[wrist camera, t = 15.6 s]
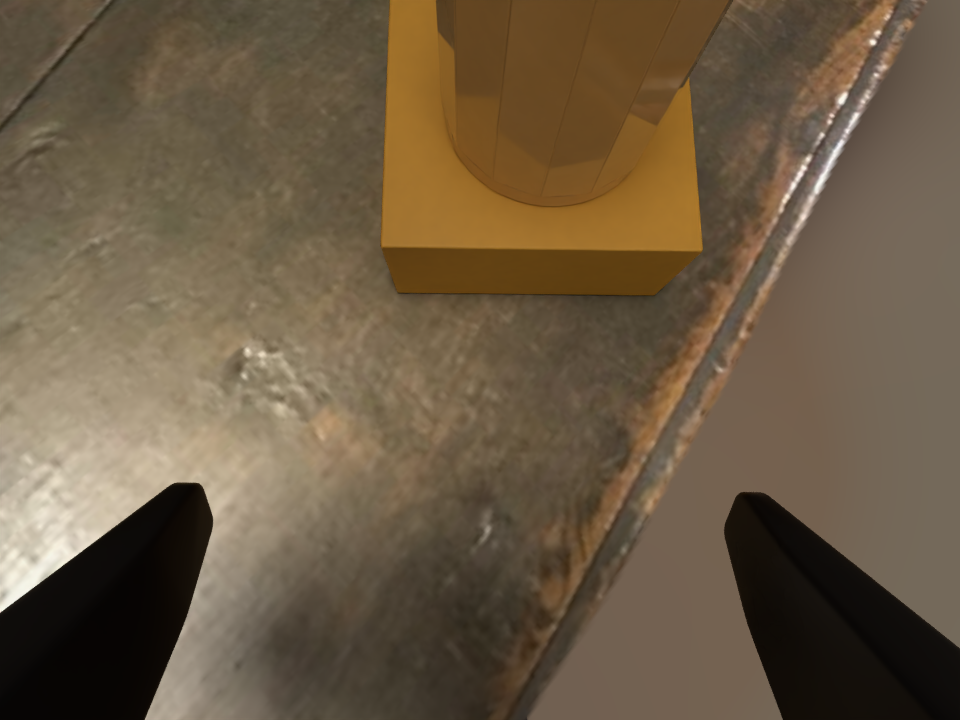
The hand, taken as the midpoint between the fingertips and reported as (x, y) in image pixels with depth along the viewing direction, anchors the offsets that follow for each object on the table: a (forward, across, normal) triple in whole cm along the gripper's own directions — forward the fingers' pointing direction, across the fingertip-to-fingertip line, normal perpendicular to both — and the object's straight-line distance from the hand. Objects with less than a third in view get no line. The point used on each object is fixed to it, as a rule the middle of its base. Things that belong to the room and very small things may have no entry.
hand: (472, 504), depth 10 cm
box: (+19, -2, 0) cm, 19 cm away
